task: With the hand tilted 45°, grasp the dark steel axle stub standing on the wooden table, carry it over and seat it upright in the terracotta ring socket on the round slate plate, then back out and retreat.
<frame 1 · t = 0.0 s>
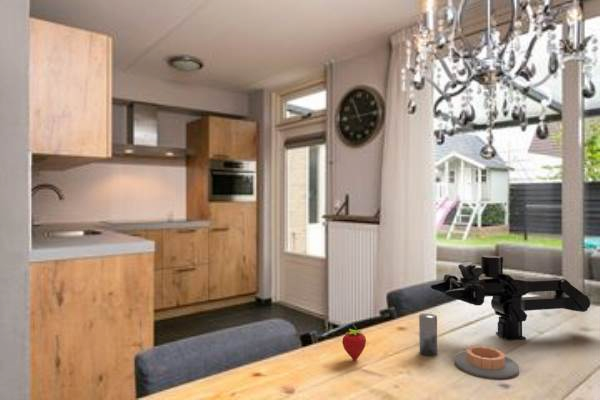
hand: (438, 290, 125), 17 cm above the table, tool horizontal, fingers open, 9 cm apart
strawberry: (354, 360, 111), on the table
steel axle stub: (428, 353, 115), on the table
slate seat plate: (485, 365, 106), on the table
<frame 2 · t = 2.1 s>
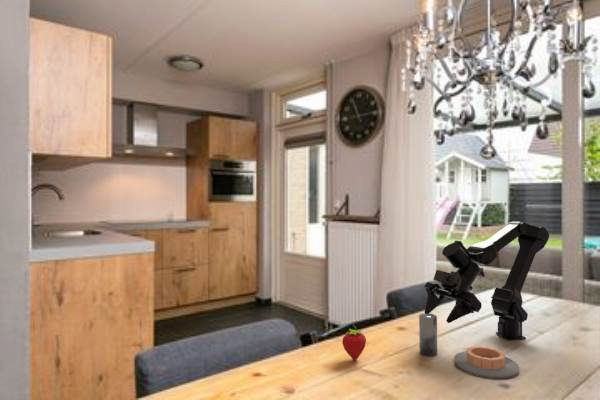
hand: (436, 317, 117), 10 cm above the table, tool tilted 45°, fingers open, 9 cm apart
nothing on the table moved.
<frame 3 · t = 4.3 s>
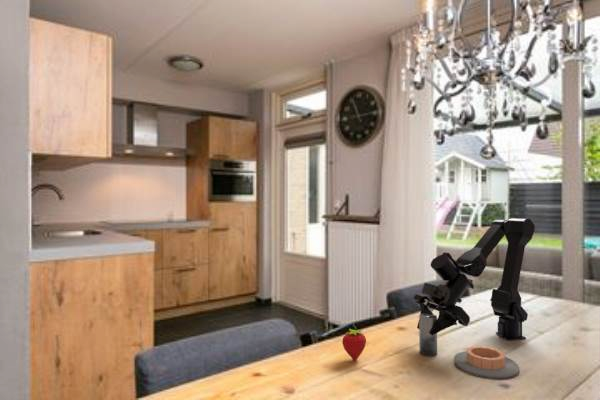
hand: (424, 331, 115), 7 cm above the table, tool tilted 45°, fingers closed on steel axle stub, 5 cm apart
steel axle stub: (428, 353, 115), on the table, touching gripper
everything else where it was.
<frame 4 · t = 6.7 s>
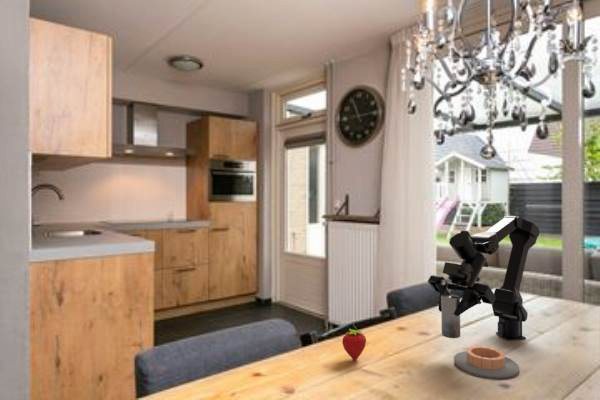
hand: (447, 312, 110), 13 cm above the table, tool tilted 45°, fingers closed on steel axle stub, 5 cm apart
steel axle stub: (451, 335, 111), point 7 cm above the table, touching gripper
everything else where it was.
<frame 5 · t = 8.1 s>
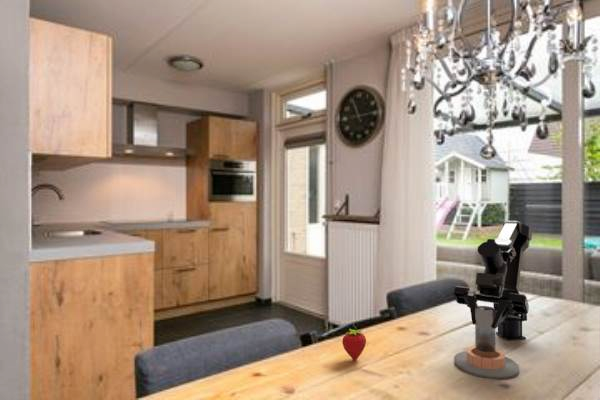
hand: (483, 325, 105), 11 cm above the table, tool tilted 45°, fingers closed on steel axle stub, 5 cm apart
steel axle stub: (485, 348, 106), point 5 cm above the table, touching gripper
everything else where it was.
when the fingers open (9 cm above the table, at t = 9.3 s): steel axle stub drops 1 cm, resting on slate seat plate.
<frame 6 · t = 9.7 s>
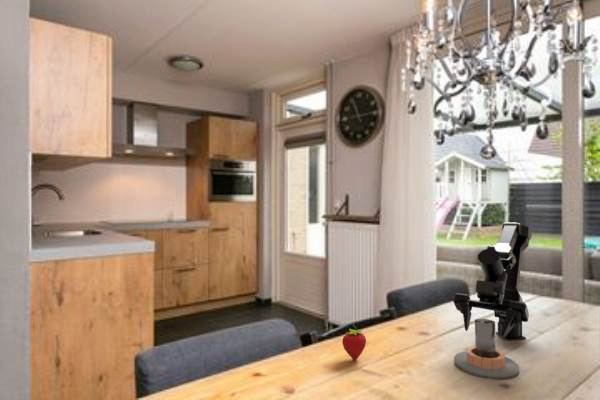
hand: (483, 333, 105), 9 cm above the table, tool tilted 45°, fingers open, 9 cm apart
steel axle stub: (485, 361, 106), point 1 cm above the table, touching slate seat plate
everything else where it was.
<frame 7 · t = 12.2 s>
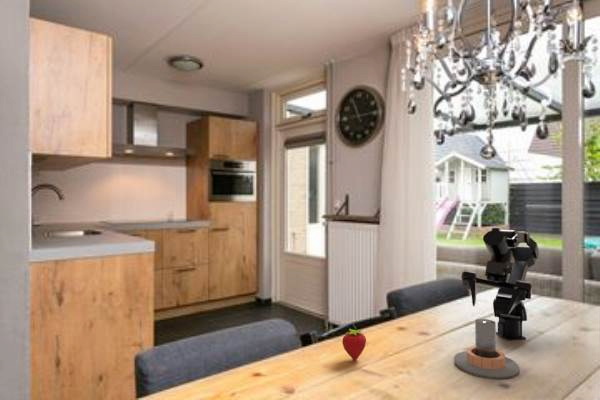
hand: (490, 309, 113), 13 cm above the table, tool tilted 40°, fingers open, 9 cm apart
nothing on the table moved.
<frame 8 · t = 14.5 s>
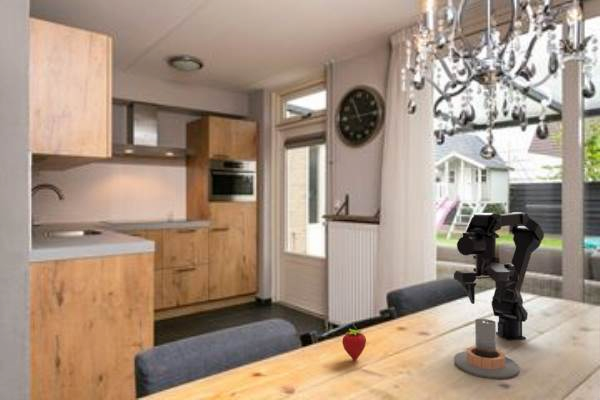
hand: (486, 303, 122), 13 cm above the table, tool pointing down, fingers open, 9 cm apart
nothing on the table moved.
at the end: steel axle stub 0.1 cm off-centre on the slate seat plate, point 1.0 cm above the slate seat plate's base; steel axle stub tilted 0°; the gripper is holding nothing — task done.
